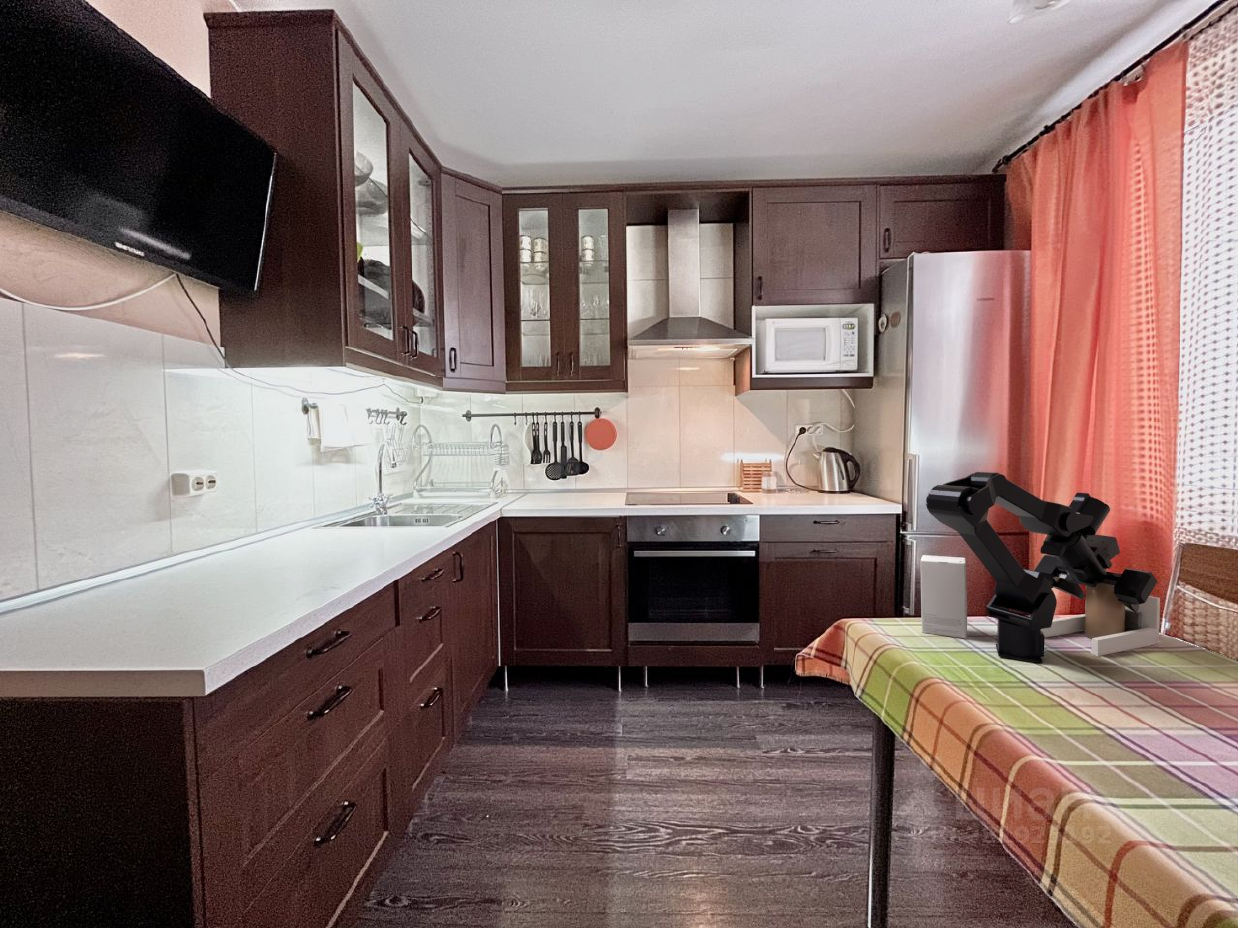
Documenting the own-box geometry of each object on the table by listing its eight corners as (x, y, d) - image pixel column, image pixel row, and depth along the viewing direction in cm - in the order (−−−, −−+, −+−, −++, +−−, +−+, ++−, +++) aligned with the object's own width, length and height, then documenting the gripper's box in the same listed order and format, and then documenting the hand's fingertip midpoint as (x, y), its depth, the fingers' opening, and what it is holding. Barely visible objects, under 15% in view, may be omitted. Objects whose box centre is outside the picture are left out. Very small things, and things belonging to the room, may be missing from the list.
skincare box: (966, 630, 116) (967, 557, 115) (966, 640, 110) (967, 563, 110) (921, 624, 120) (922, 553, 120) (919, 632, 115) (920, 558, 114)
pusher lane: (1097, 656, 101) (1098, 607, 101) (1035, 636, 112) (1036, 592, 112) (1158, 643, 108) (1160, 597, 107) (1094, 626, 118) (1095, 584, 118)
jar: (1088, 640, 110) (1089, 575, 109) (1081, 631, 115) (1082, 569, 114) (1128, 645, 106) (1129, 579, 106) (1119, 636, 112) (1121, 573, 111)
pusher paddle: (1137, 640, 108) (1138, 612, 108) (1091, 628, 115) (1091, 602, 115) (1141, 640, 108) (1141, 612, 108) (1094, 627, 116) (1095, 601, 115)
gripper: (1152, 529, 100) (1187, 584, 104) (1043, 516, 117) (1076, 564, 121) (1124, 575, 97) (1160, 630, 101) (1016, 556, 115) (1051, 603, 119)
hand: (1108, 603), depth 111 cm, fingers open, 9 cm apart
